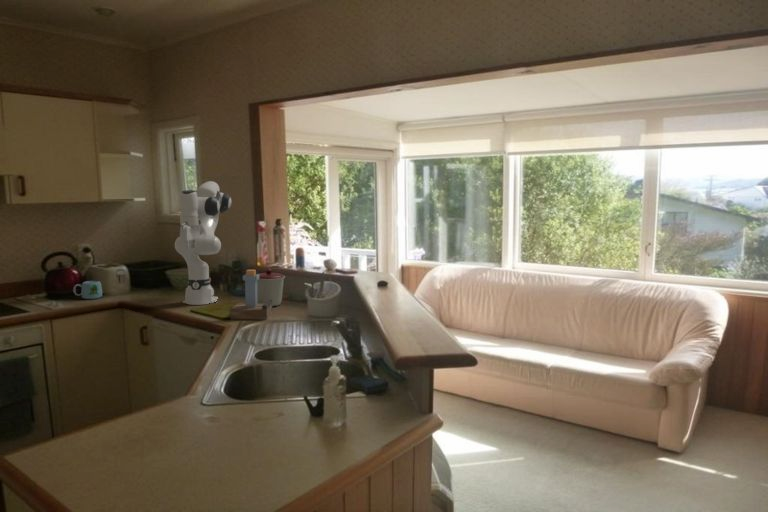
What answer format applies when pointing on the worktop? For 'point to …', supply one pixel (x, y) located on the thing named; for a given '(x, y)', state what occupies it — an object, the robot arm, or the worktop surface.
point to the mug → (90, 290)
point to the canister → (270, 287)
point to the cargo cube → (251, 273)
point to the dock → (251, 311)
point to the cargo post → (251, 290)
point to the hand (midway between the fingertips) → (190, 248)
